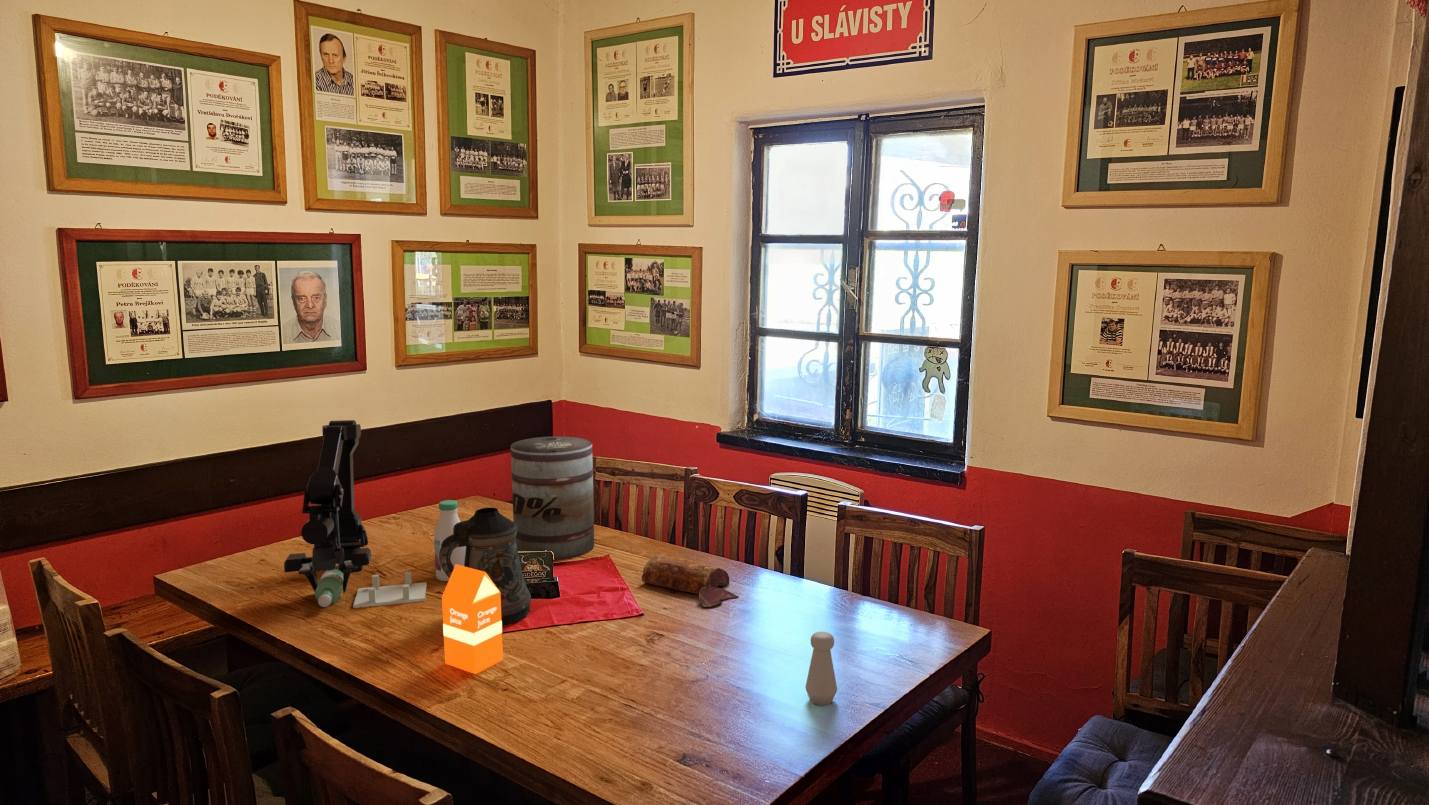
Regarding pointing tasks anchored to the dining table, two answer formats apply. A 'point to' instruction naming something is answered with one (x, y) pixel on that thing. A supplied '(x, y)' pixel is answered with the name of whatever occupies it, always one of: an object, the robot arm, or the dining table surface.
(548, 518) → the barrel
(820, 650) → the salt shaker
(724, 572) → the cured meat
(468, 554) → the beer stein
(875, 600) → the dining table surface
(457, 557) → the milk bottle
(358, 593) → the white four-legged tray
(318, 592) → the bottle
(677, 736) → the dining table surface
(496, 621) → the orange juice
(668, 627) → the dining table surface
